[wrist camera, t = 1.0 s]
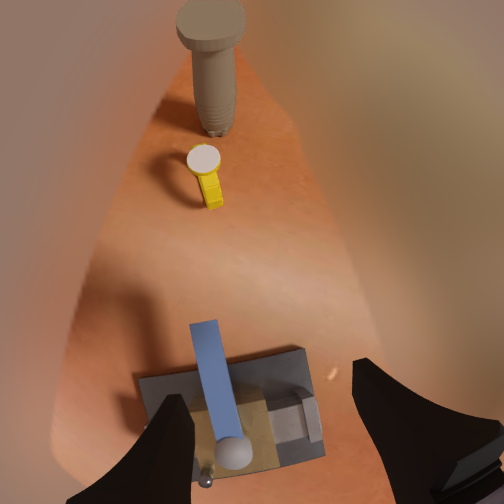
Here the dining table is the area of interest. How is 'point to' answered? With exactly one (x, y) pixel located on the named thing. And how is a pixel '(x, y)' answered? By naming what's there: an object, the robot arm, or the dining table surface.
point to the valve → (250, 412)
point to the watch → (206, 172)
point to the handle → (213, 57)
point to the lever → (220, 397)
